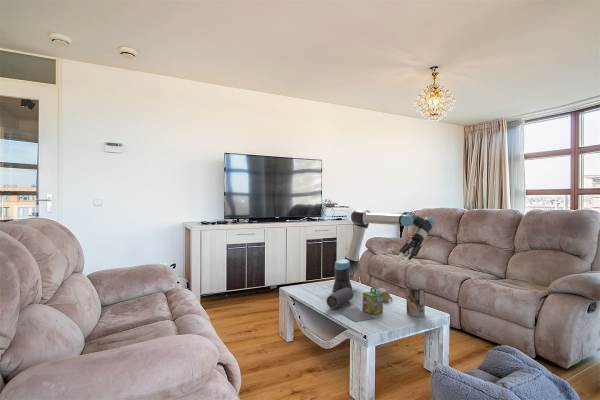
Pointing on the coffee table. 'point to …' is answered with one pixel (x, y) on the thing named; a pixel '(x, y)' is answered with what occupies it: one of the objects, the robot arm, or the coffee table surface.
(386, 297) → the ceramic mug
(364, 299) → the chalk box
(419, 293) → the coffee box
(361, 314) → the mat
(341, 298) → the bluetooth speaker
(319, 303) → the coffee table surface
